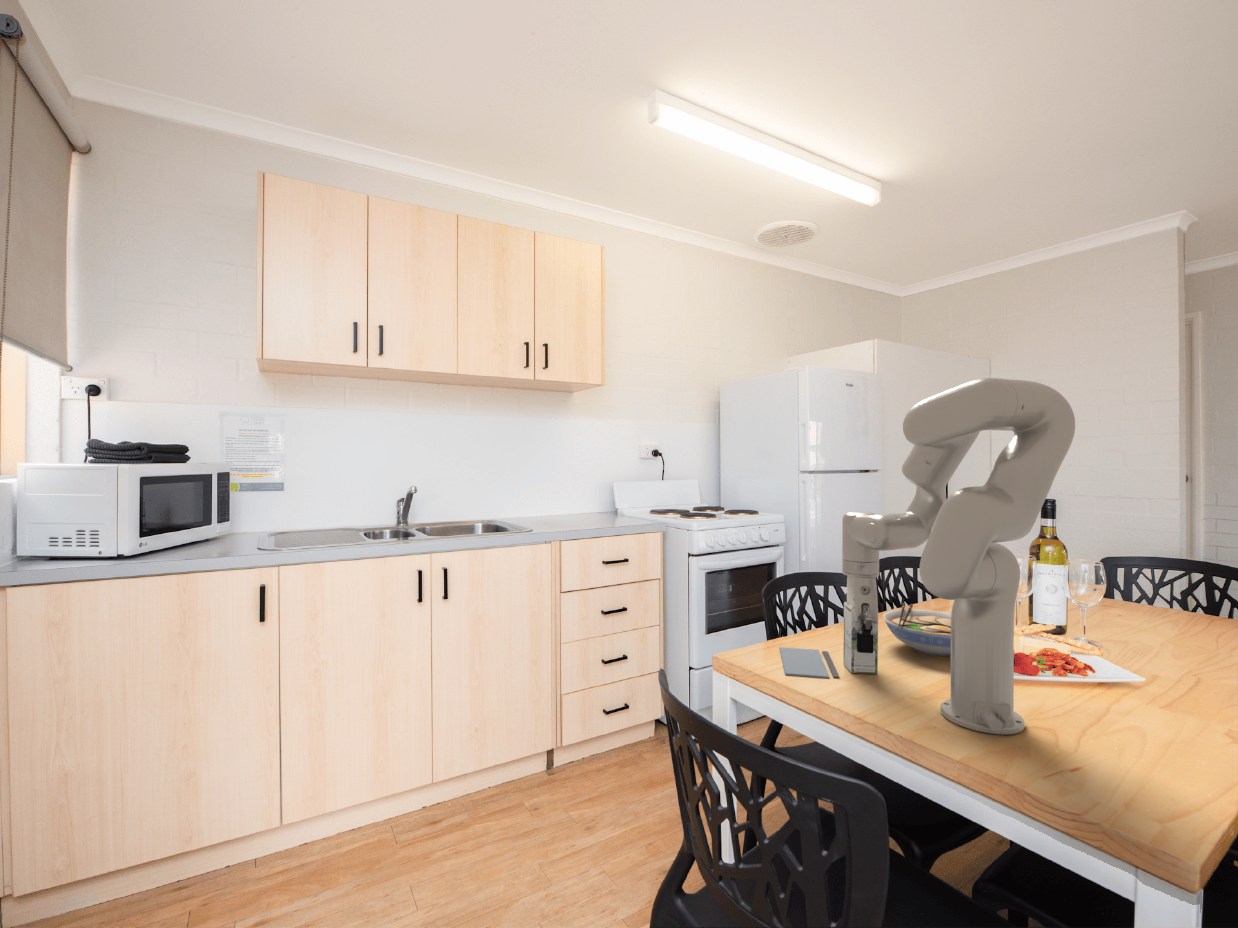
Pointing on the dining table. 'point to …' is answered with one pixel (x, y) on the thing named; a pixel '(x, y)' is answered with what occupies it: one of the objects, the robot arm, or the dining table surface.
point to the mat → (803, 662)
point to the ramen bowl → (922, 629)
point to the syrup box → (851, 656)
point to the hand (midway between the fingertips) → (860, 645)
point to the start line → (830, 664)
